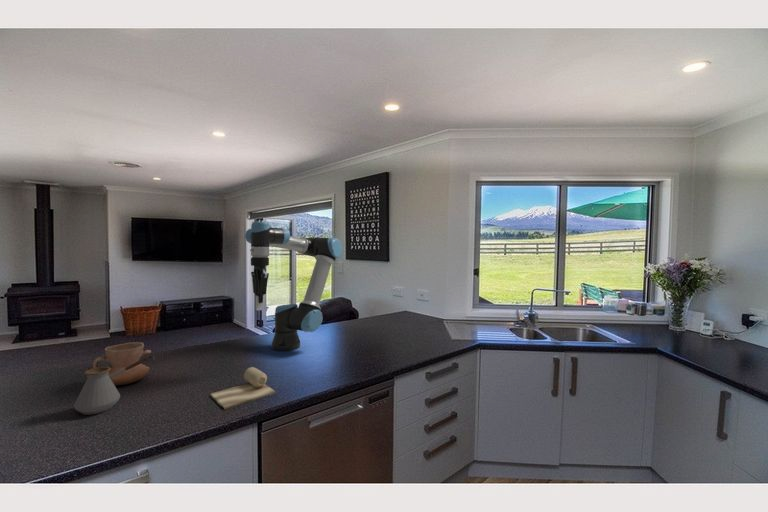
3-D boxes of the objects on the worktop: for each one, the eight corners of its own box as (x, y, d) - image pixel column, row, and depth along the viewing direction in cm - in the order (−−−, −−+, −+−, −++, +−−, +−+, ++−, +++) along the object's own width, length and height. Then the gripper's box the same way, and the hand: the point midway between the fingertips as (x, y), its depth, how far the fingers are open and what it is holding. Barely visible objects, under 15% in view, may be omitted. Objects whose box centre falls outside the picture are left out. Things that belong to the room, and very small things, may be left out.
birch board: (210, 395, 118) (210, 393, 118) (259, 382, 131) (259, 380, 131) (224, 409, 108) (224, 407, 108) (275, 393, 121) (275, 391, 121)
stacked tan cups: (152, 371, 140) (152, 338, 140) (150, 383, 128) (149, 347, 128) (97, 380, 130) (96, 345, 130) (89, 394, 118) (88, 355, 118)
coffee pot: (72, 421, 99) (72, 373, 99) (74, 407, 108) (74, 362, 108) (157, 401, 113) (157, 358, 113) (153, 390, 122) (153, 350, 122)
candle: (252, 364, 131) (264, 370, 124) (259, 373, 133) (271, 380, 126) (240, 374, 127) (252, 382, 120) (248, 384, 130) (259, 392, 123)
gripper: (245, 256, 146) (244, 308, 147) (258, 257, 137) (257, 313, 137) (261, 256, 152) (261, 307, 152) (274, 257, 142) (274, 311, 143)
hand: (259, 309), depth 145 cm, fingers closed
